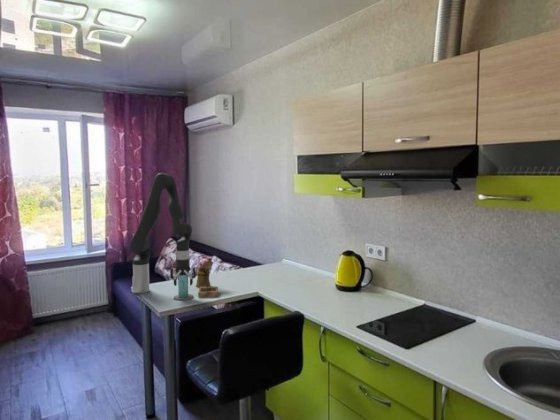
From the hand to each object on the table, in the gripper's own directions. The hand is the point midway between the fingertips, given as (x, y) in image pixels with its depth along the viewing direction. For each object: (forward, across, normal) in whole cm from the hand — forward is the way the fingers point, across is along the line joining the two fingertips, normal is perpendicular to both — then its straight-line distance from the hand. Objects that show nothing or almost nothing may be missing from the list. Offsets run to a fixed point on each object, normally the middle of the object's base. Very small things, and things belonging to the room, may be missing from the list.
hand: (183, 285), depth 225 cm
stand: (+7, -14, -5) cm, 17 cm away
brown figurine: (+8, -11, -22) cm, 26 cm away
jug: (+7, 0, +1) cm, 7 cm away
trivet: (+7, 0, 0) cm, 7 cm away
